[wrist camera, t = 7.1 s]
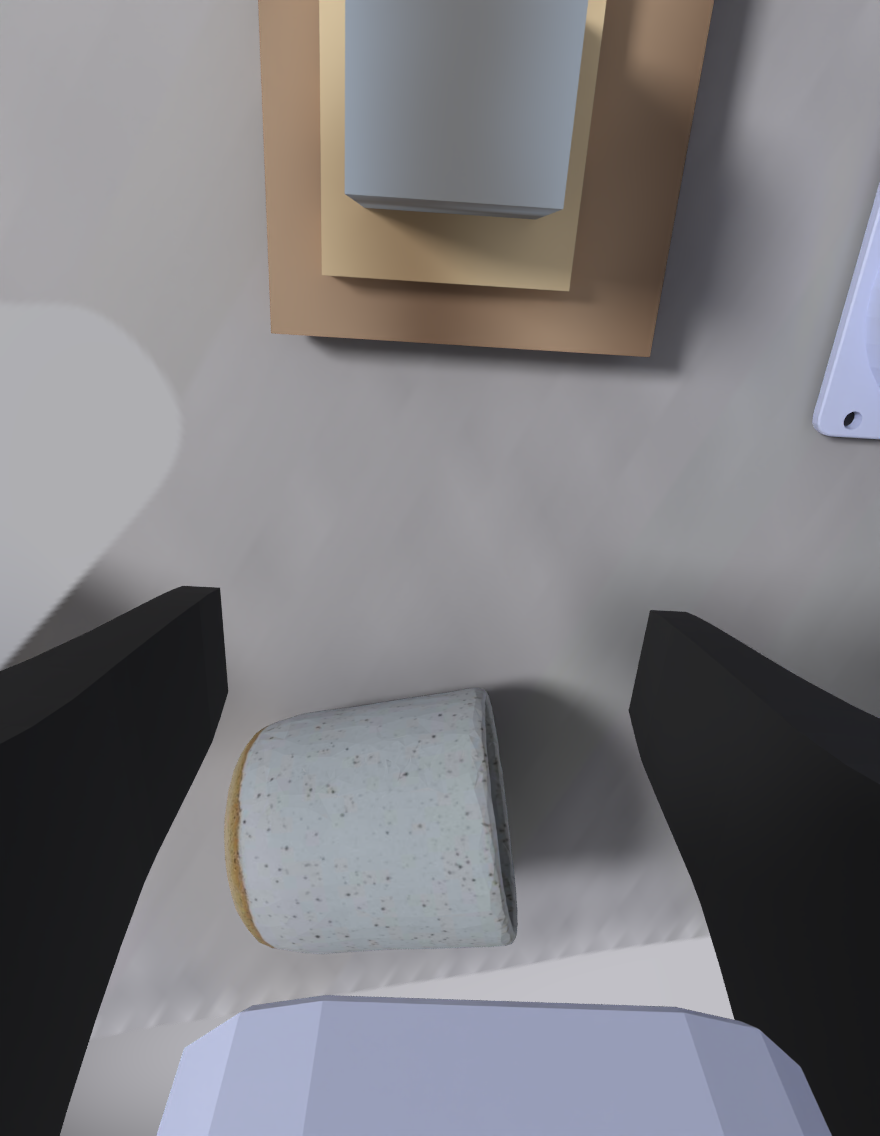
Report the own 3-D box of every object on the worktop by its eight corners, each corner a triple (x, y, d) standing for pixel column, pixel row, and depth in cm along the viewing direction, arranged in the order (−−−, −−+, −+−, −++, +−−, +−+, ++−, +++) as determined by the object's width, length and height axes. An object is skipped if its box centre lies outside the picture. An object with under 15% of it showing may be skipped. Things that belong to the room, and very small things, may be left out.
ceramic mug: (251, 680, 24) (177, 857, 17) (479, 641, 24) (499, 809, 17) (328, 886, 29) (295, 1093, 22) (522, 858, 28) (552, 1061, 21)
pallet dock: (734, -235, 15) (766, -287, 13) (634, 350, 20) (649, 357, 18) (263, -278, 14) (245, -335, 13) (282, 328, 19) (271, 333, 18)
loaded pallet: (606, -64, 15) (678, -198, 10) (562, 289, 17) (603, 300, 13) (325, -88, 14) (278, -233, 10) (327, 274, 17) (291, 279, 13)
